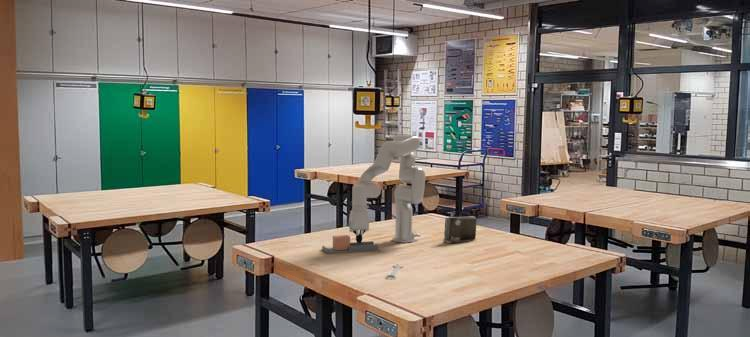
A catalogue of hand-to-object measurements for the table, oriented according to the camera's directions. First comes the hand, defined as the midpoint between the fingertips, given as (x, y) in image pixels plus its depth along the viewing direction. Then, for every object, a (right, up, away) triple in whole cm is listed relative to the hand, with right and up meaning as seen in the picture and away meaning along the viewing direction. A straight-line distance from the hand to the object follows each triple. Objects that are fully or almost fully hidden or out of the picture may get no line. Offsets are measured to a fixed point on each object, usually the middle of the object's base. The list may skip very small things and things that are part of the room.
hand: (359, 242), depth 309 cm
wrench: (+17, -9, -43) cm, 47 cm away
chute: (-4, -4, -1) cm, 6 cm away
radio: (+57, -3, +26) cm, 63 cm away
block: (-9, -3, -3) cm, 10 cm away
